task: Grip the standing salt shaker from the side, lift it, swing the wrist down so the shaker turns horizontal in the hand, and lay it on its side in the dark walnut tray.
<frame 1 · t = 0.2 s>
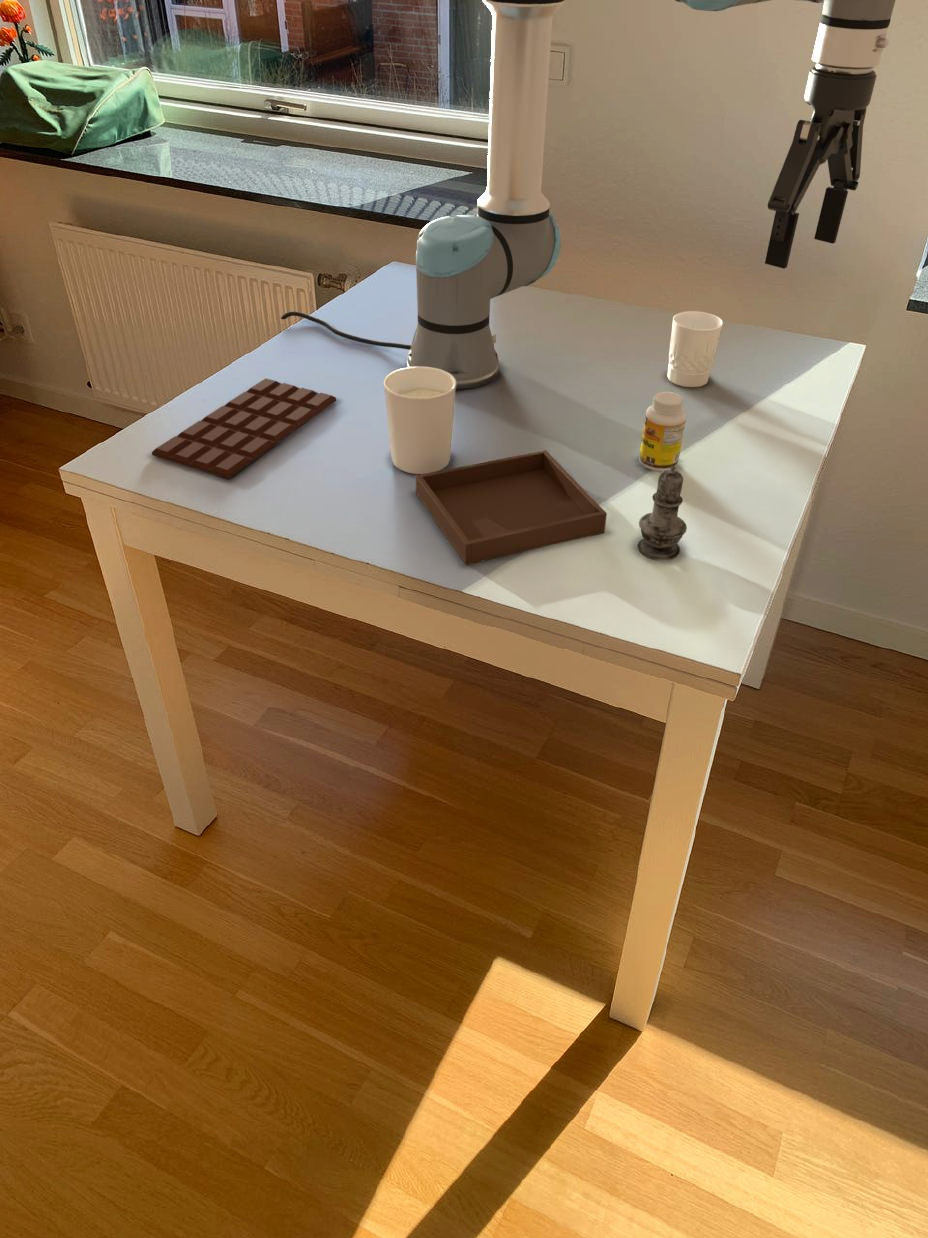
hand: (800, 252, 126), 28 cm above the table, tool pointing down, fingers open, 13 cm apart
tray: (507, 513, 127), on the table
white cup: (687, 379, 160), on the table
salt shaker: (658, 549, 122), on the table
chocolate bar: (249, 427, 144), on the table
supplement bottle: (657, 464, 138), on the table
candle holder: (420, 461, 138), on the table
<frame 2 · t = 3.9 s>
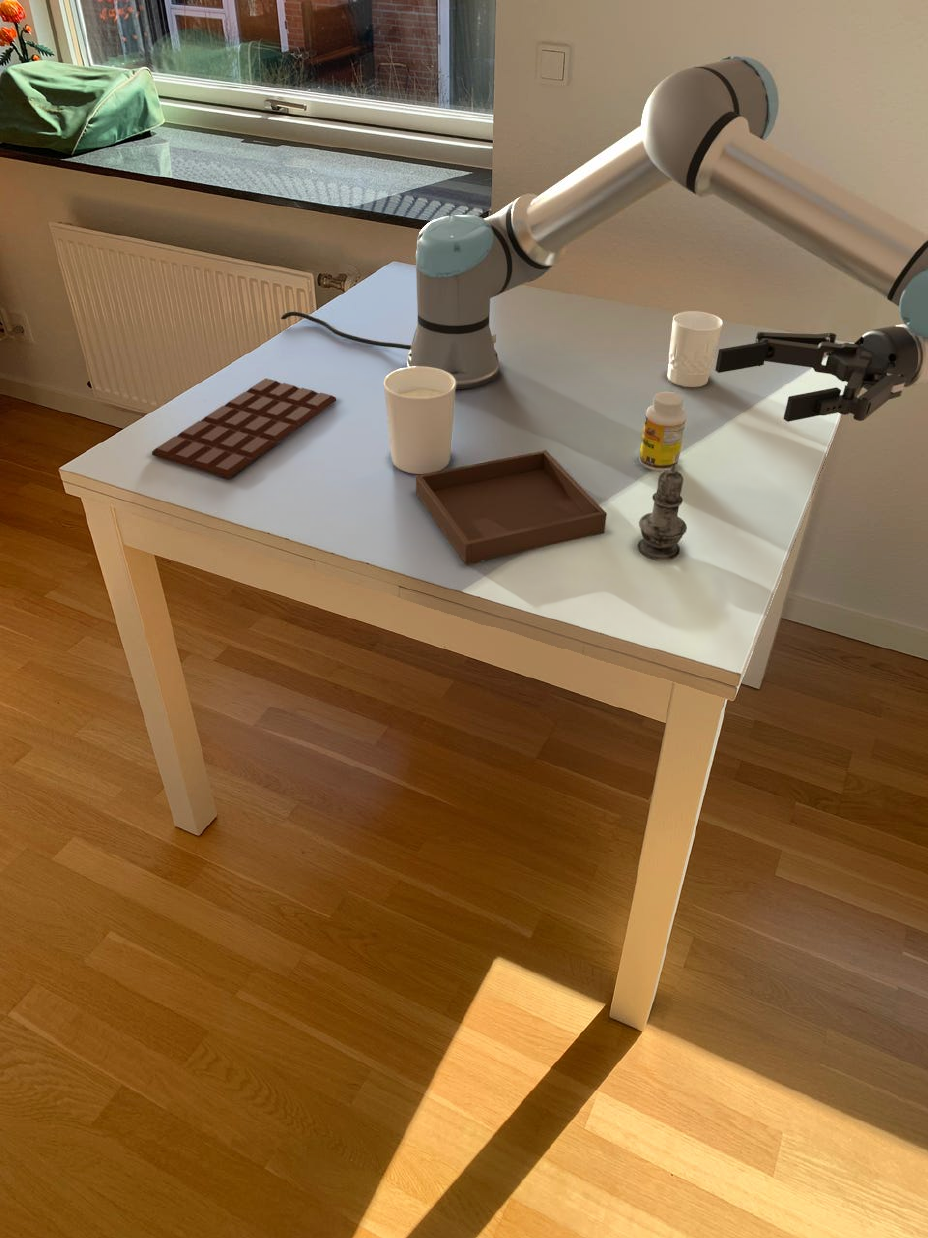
hand: (751, 384, 111), 21 cm above the table, tool horizontal, fingers open, 13 cm apart
nothing on the table moved.
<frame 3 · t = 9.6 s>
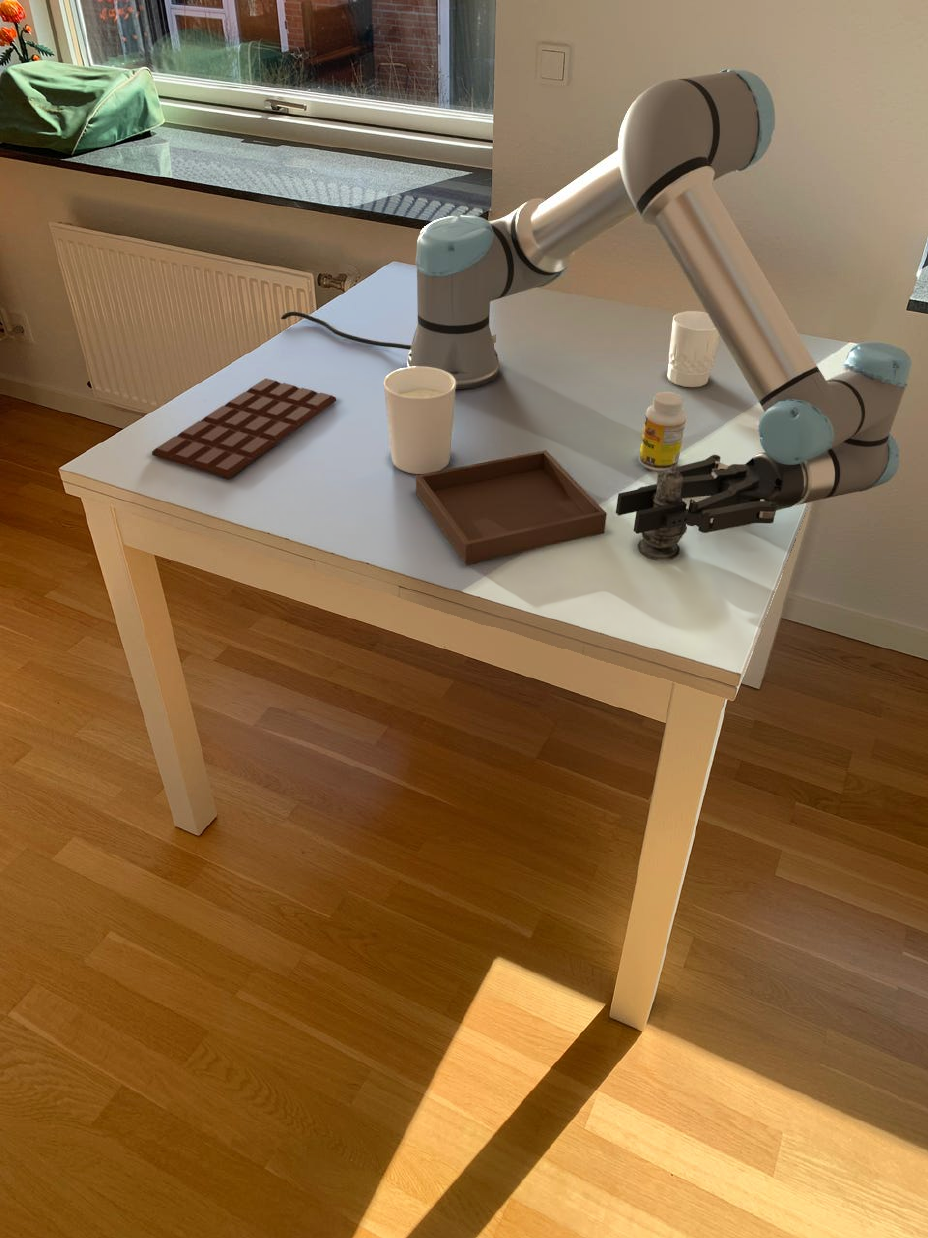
hand: (627, 513, 116), 6 cm above the table, tool horizontal, fingers closed on salt shaker, 4 cm apart
salt shaker: (658, 549, 122), on the table, touching gripper
everything else where it was.
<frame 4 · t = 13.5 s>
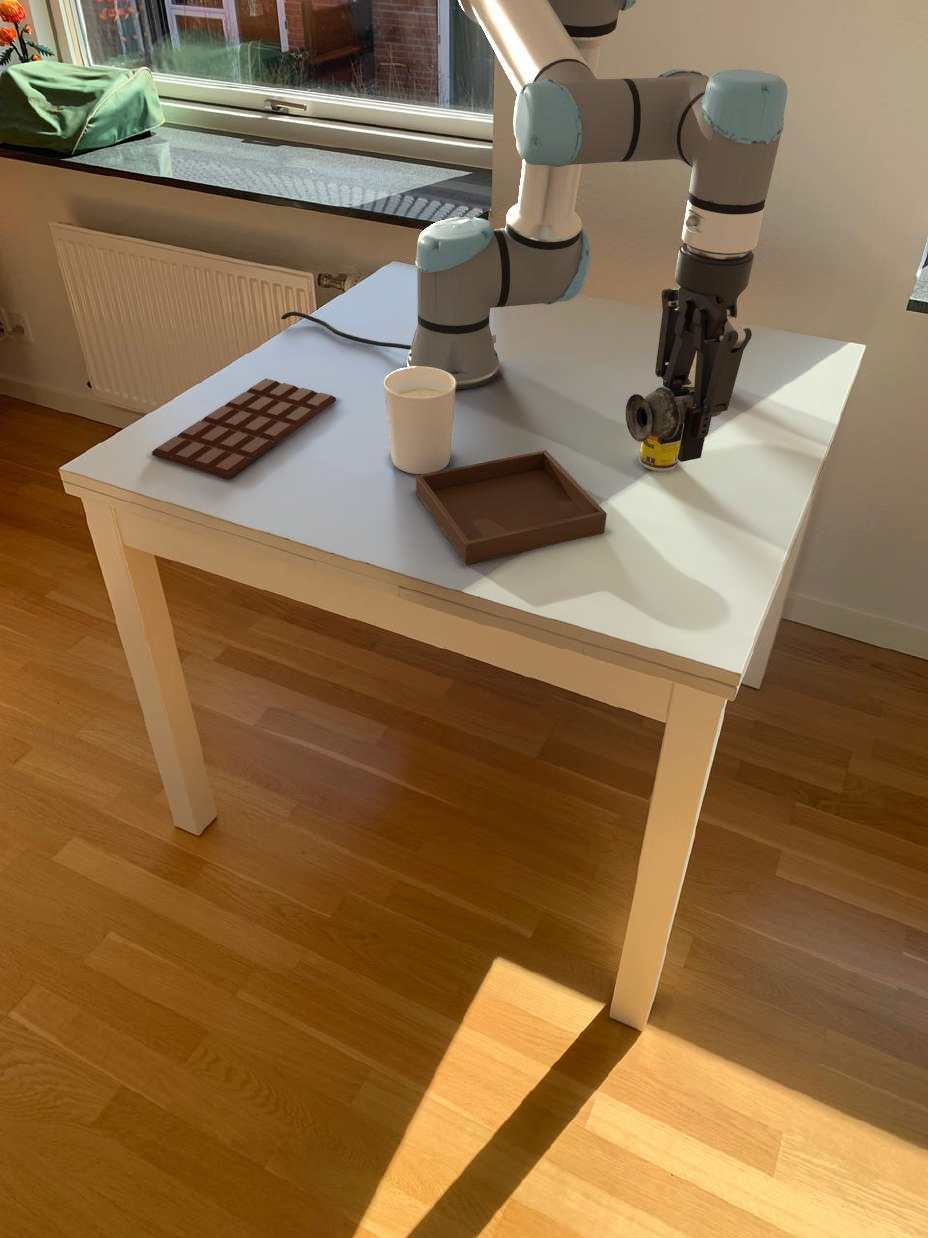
hand: (679, 449, 113), 14 cm above the table, tool pointing down, fingers closed on salt shaker, 3 cm apart
salt shaker: (636, 418, 107), point 19 cm above the table, touching gripper
everything else where it was.
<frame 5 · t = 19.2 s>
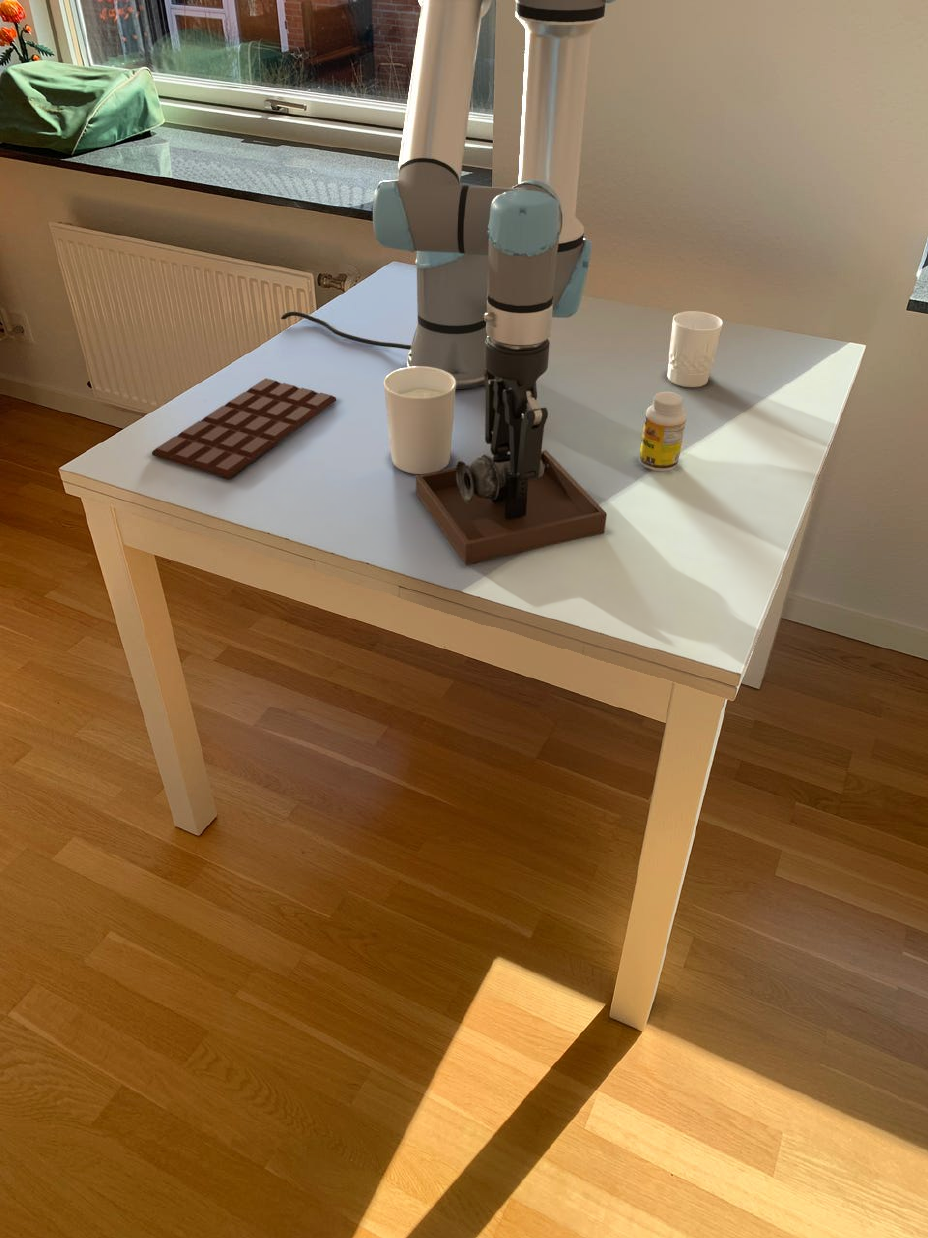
hand: (508, 507, 127), 1 cm above the table, tool pointing down, fingers closed on salt shaker, 3 cm apart
salt shaker: (462, 482, 121), point 6 cm above the table, touching gripper
everything else where it was.
when the fingers open (2 cm above the table, at t = 21.8 s): salt shaker drops 3 cm, resting on tray.
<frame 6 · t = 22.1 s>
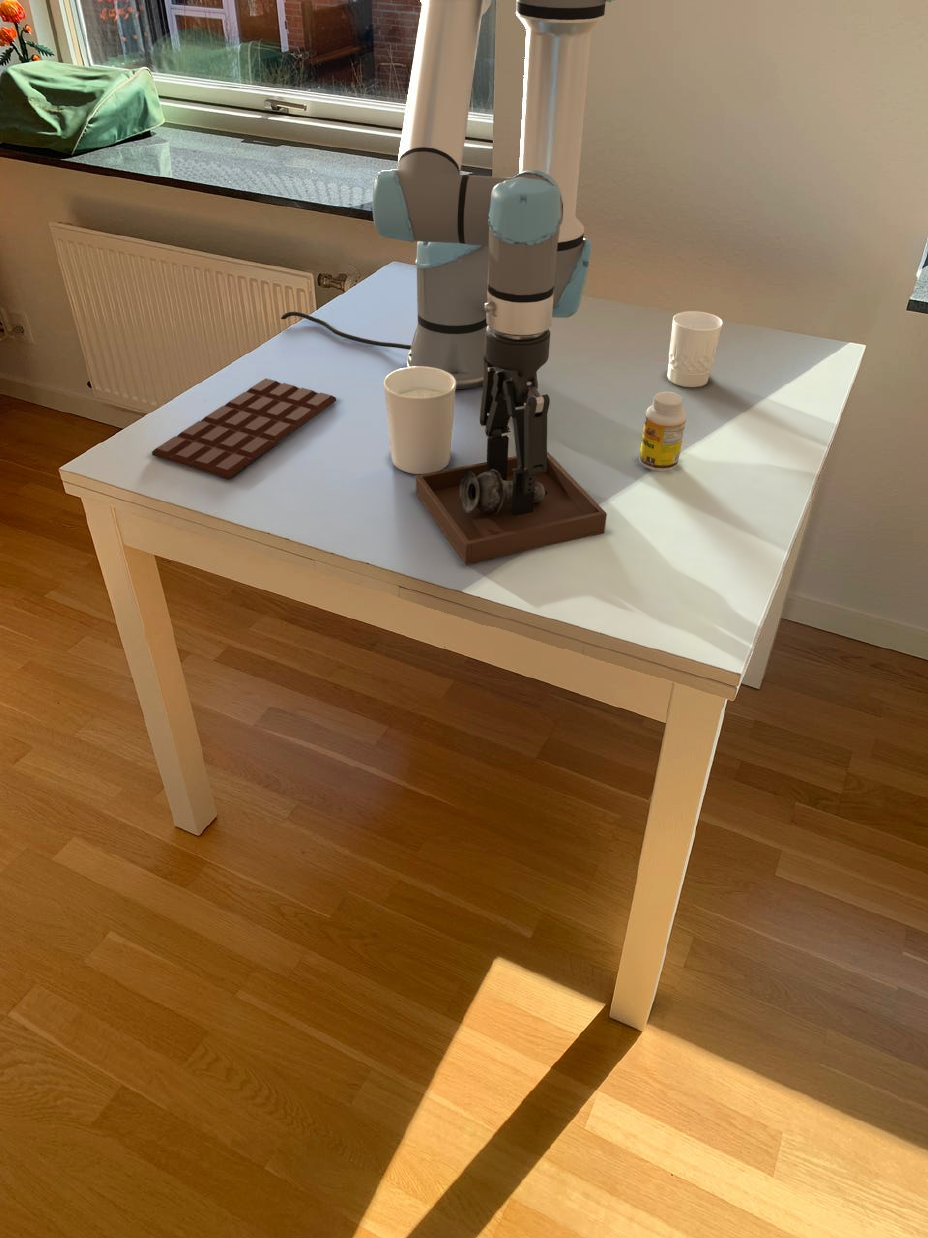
hand: (508, 496, 126), 3 cm above the table, tool pointing down, fingers open, 7 cm apart
salt shaker: (467, 492, 123), point 4 cm above the table, touching tray
everything else where it was.
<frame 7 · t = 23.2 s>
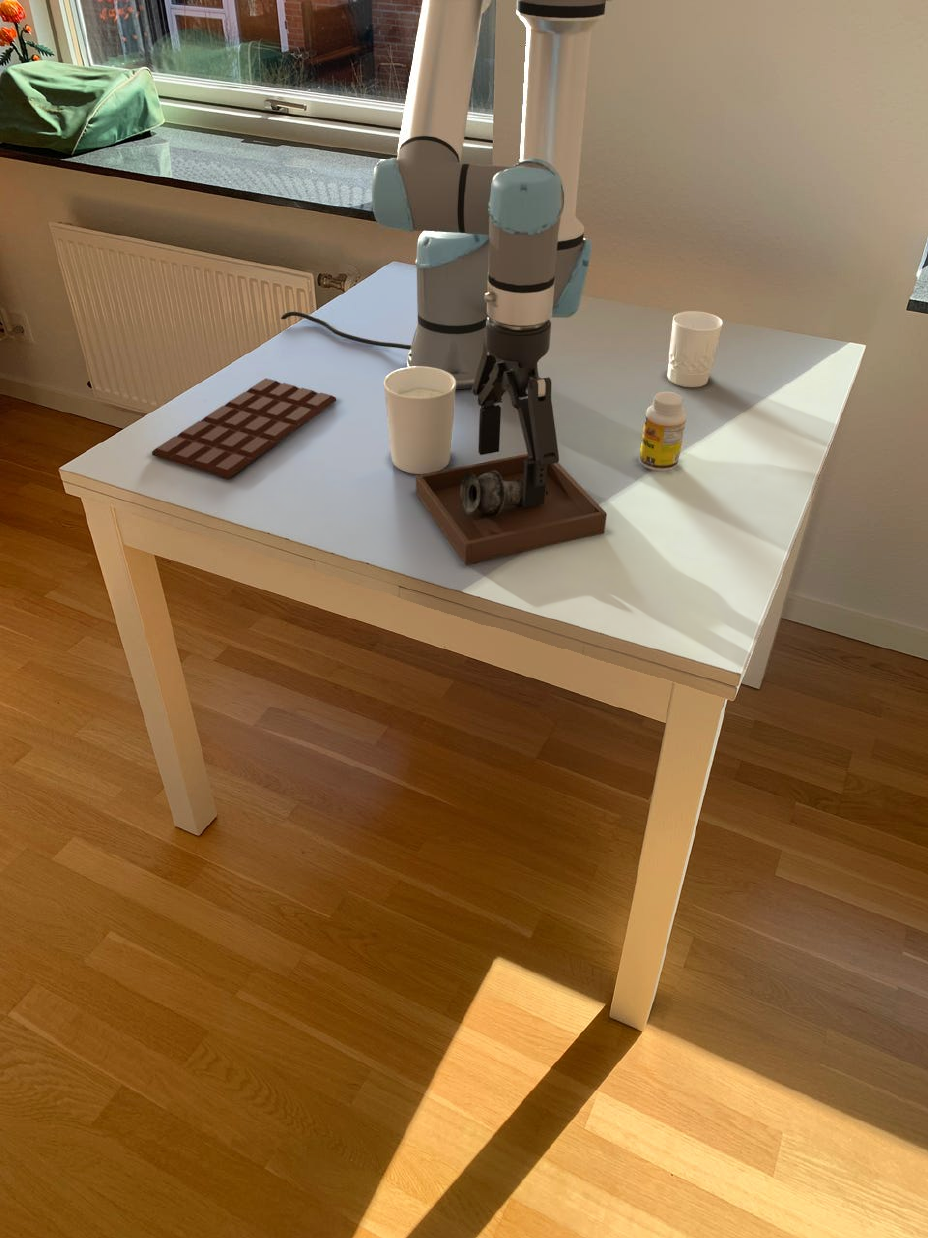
hand: (510, 477, 124), 5 cm above the table, tool pointing down, fingers open, 13 cm apart
nothing on the table moved.
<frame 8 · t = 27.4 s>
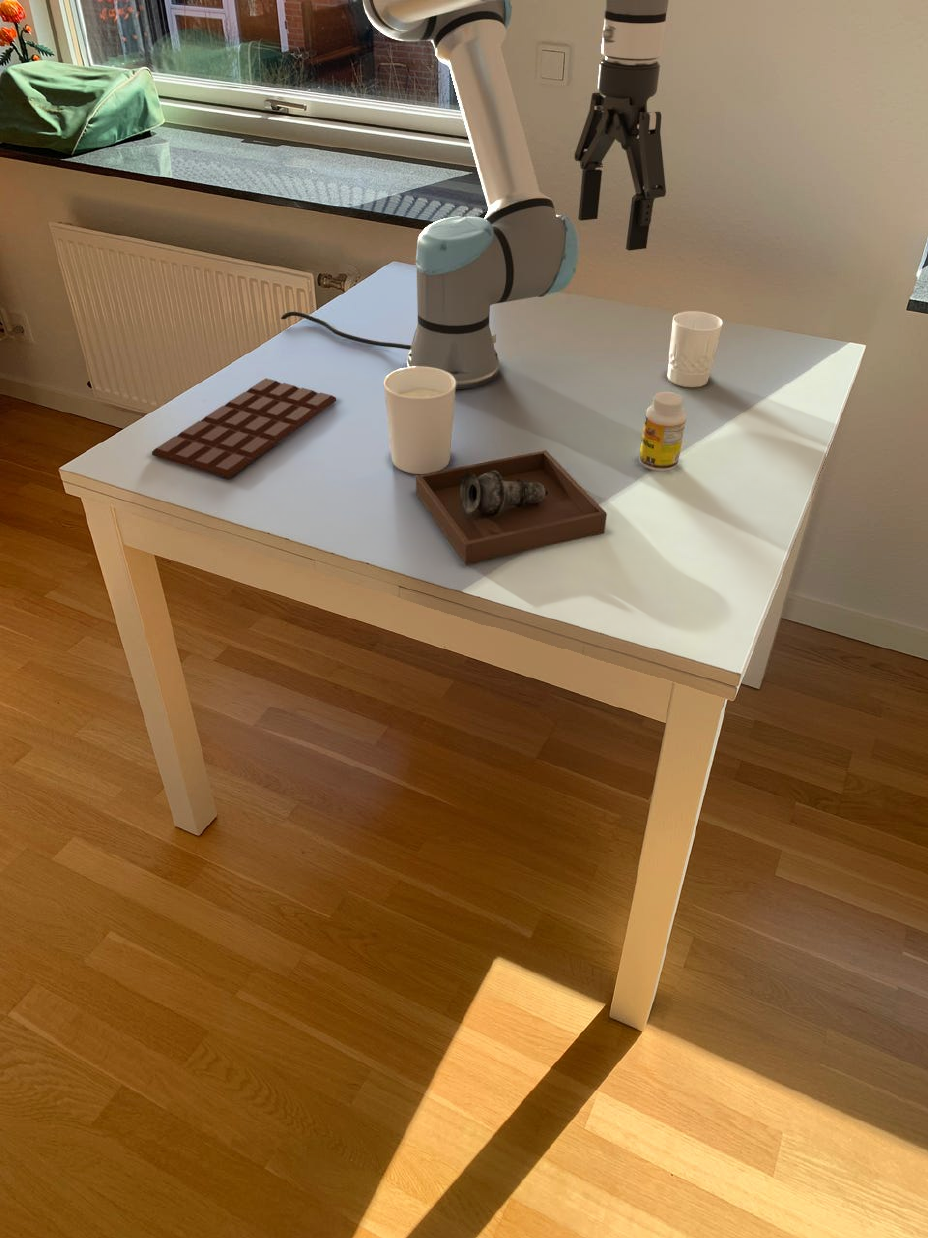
hand: (611, 233, 134), 27 cm above the table, tool pointing down, fingers open, 13 cm apart
nothing on the table moved.
at the end: salt shaker tilted 103°; salt shaker inside the target area on the tray (5.8 cm from its centre), point 4.2 cm above the tray's base; the gripper is holding nothing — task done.
